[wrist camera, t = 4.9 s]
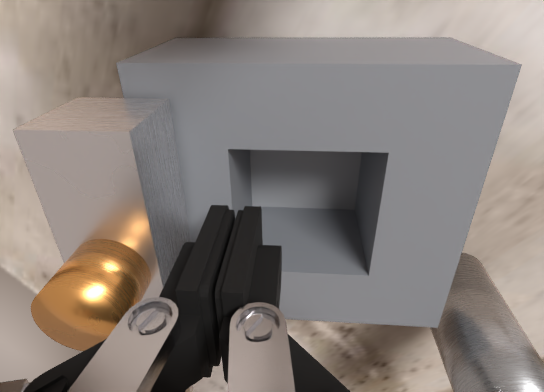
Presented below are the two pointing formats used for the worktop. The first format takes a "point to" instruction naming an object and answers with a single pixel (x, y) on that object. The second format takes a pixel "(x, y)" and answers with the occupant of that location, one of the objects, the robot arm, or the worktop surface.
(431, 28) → the worktop surface
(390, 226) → the block
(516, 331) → the grey capped cylinder
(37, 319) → the bar
